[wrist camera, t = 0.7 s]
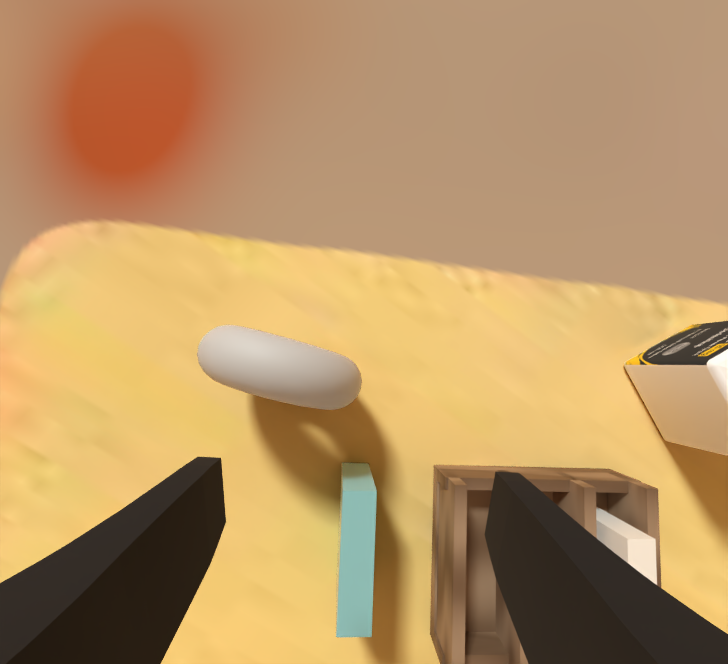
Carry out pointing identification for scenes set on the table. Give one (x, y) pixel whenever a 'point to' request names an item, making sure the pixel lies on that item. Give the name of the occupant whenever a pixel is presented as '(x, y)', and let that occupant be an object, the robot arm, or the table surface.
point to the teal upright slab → (356, 551)
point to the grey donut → (278, 368)
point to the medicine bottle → (687, 386)
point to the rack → (472, 560)
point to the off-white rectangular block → (628, 543)
